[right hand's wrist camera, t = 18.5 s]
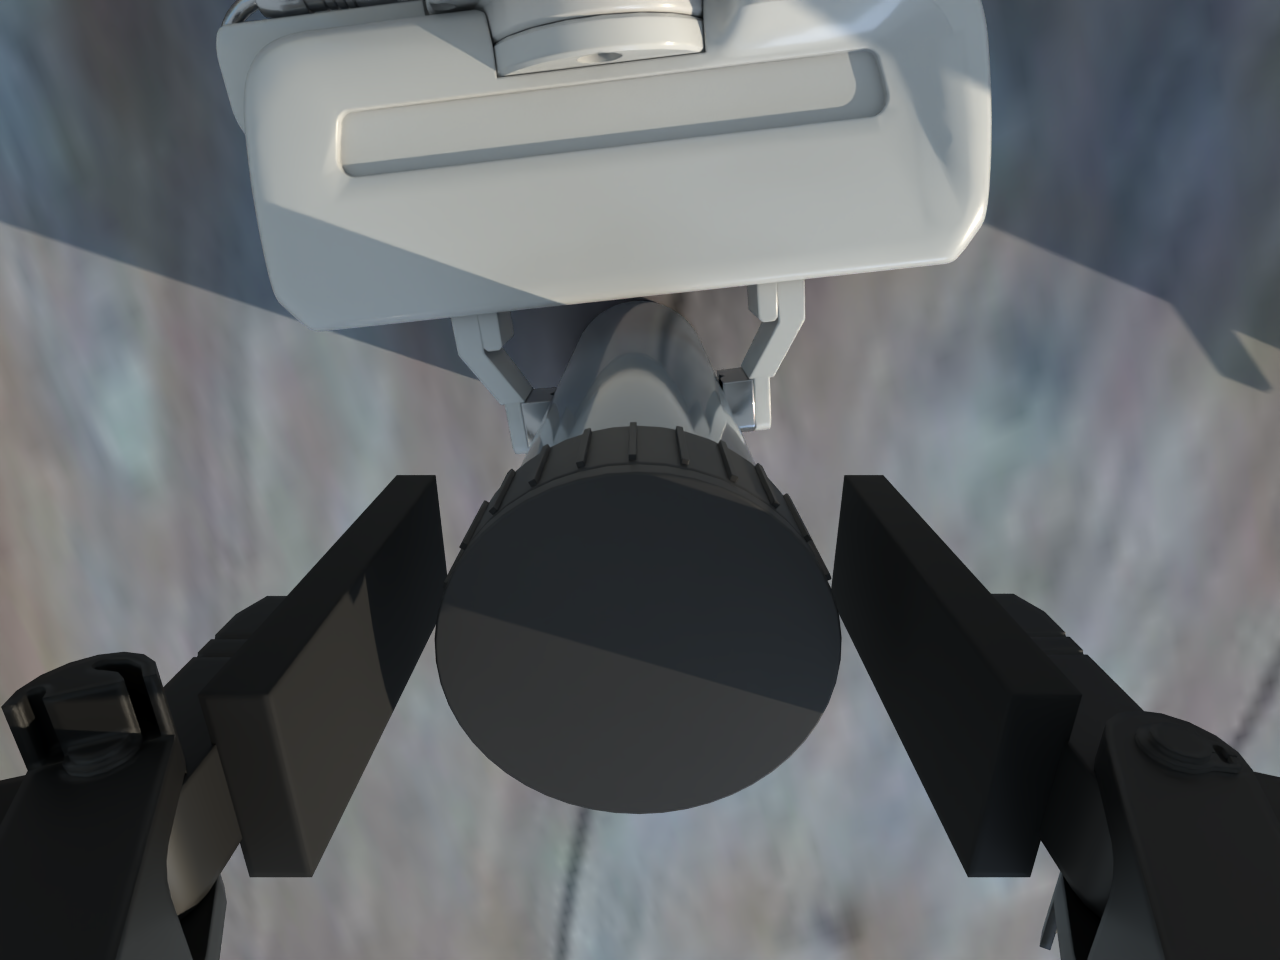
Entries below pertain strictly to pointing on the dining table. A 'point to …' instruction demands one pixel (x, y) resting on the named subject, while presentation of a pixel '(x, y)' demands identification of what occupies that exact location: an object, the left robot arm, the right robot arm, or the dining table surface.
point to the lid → (638, 623)
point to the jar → (639, 381)
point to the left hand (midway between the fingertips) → (643, 437)
